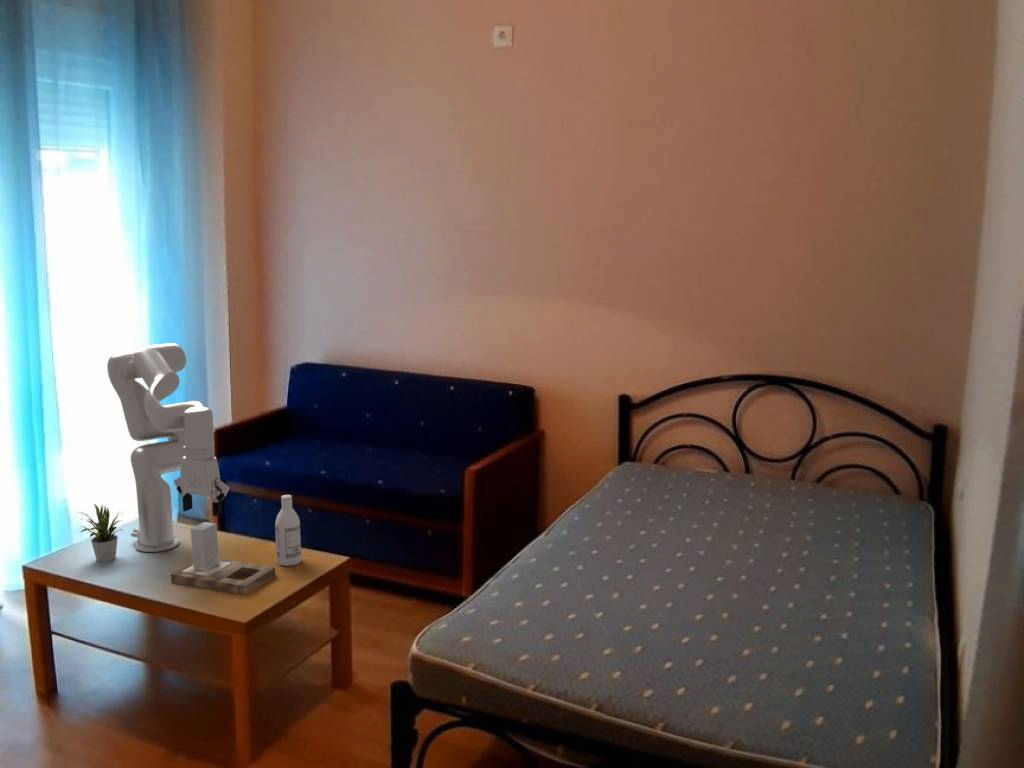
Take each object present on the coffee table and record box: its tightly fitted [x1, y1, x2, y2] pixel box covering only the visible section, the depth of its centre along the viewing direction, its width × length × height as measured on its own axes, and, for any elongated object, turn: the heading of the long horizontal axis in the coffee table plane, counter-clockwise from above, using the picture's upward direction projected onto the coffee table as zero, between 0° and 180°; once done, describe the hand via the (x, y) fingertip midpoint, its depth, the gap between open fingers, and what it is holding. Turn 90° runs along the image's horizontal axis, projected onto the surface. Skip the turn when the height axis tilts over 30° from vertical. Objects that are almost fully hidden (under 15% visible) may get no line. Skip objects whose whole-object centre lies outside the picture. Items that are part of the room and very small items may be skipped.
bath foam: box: [274, 494, 302, 567], centre depth 267 cm, size 7×7×20 cm
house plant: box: [77, 503, 124, 563], centre depth 270 cm, size 14×14×16 cm
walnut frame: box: [170, 558, 277, 596], centre depth 256 cm, size 24×14×3 cm, turn 71°
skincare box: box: [190, 521, 220, 571], centre depth 257 cm, size 6×4×12 cm
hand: (202, 512), depth 255 cm, fingers open, 9 cm apart
